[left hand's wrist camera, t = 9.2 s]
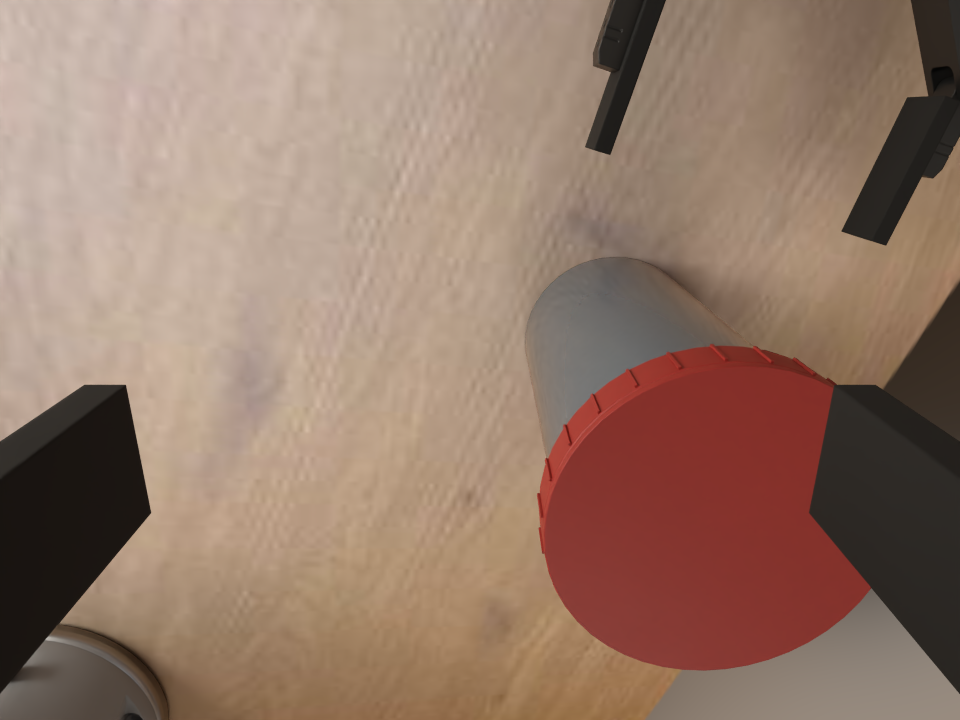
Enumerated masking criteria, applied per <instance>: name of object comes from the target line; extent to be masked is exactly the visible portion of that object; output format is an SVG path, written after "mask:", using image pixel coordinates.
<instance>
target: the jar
mask: <svg viewBox="0 0 960 720" xmlns="http://www.w3.org/2000/svg"><path fill="white" fill-rule="evenodd" d="M710 344H714V345H715V346H741V347H749V348H753V347H754V346H752V345H751V344H750V343H749V342H748V341H746V340H745V339H744V338H743V337H742V336H740V335H739V334H738V333H737V332H736V331H734V330H733V329H732V328H731V327H730V326H728V325H727V324H726V323H725V322H724V321H722V320H721V319H720V318H719V317H718V316H716V315H715V314H714V313H713V312H712V311H710V310H709V309H708V308H707V307H706V306H704V305H703V304H702V303H701V302H700V301H698V300H697V299H696V298H695V297H694V296H692V295H691V294H690V293H689V292H688V291H686V290H685V289H684V288H683V287H682V286H680V285H679V284H678V283H677V282H676V281H674V280H673V279H672V278H671V277H670V276H668V275H667V274H666V273H664V272H663V271H661V270H660V269H658V268H657V267H655V266H652V265H650V264H648V263H646V262H643V261H639V260H636V259H631V258H623V257H609V258H600V259H596V260H591V261H588V262H585V263H582V264H580V265H578V266H576V267H574V268H572V269H570V270H568V271H567V272H565V273H564V274H562V275H561V276H559V277H558V278H557V279H556V280H555V281H553V282H552V283H551V284H550V285H549V286H548V287H547V289H546V290H545V291H544V292H543V293H542V295H541V296H540V298H539V299H538V301H537V302H536V304H535V306H534V308H533V310H532V312H531V315H530V318H529V320H528V324H527V329H526V337H525V349H526V357H527V362H528V367H529V372H530V377H531V383H532V388H533V393H534V398H535V403H536V408H537V413H538V418H539V423H540V429H541V434H542V439H543V444H544V449H545V454H546V458H549V455H550V453H551V450H552V448H553V446H554V444H555V442H556V441H557V439H558V437H559V435H560V433H561V432H562V430H563V425H564V424H566V425H567V423H568V422H569V421H570V419H571V418H572V417H573V415H574V414H575V413H576V412H577V411H578V409H579V408H580V407H581V406H582V405H583V404H584V403H585V402H586V401H587V400H588V399H589V398H590V397H591V396H590V395H591V394H592V393H593V394H595V393H596V392H597V391H599V390H600V389H601V388H602V387H604V386H605V385H606V384H607V383H609V382H610V381H612V380H613V379H615V378H616V377H618V376H620V375H621V374H623V373H625V372H626V371H625V370H626V369H629V370H630V369H632V368H634V367H636V366H638V365H640V364H642V363H645V362H647V361H649V360H651V359H654V358H657V357H660V356H663V355H666V352H670V353H672V352H677V351H682V350H687V349H692V348H697V347H709V346H710Z"/></svg>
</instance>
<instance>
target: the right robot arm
mask: <svg viewBox="0 0 960 720" xmlns="http://www.w3.org/2000/svg"><path fill="white" fill-rule="evenodd" d="M665 1H666V0H611V1H610V4H609V7H608V10H607V13H606V16H605V19H604V22H603V25H602V28H601V31H600V34H599V37H598V40H597V43H596V46H595V49H594V52H593V66H595V67H598V68H601V69H604V70H606V71H609V72H611V74H610V77H609V79H608V82H607V85H606V88H605V91H604V94H603V97H602V100H601V103H600V106H599V108H598V111H597V114H596V117H595V120H594V123H593V126H592V129H591V132H590V134H589V137H588V140H587V143H586V146H585V147H586V148H589V149H592V150H595V151H598V152H602V153H605V154H609V155H610V154H611V151H612V149H613V146H614V143H615V140H616V137H617V135H618V132H619V129H620V126H621V124H622V121H623V118H624V115H625V112H626V110H627V107H628V104H629V101H630V99H631V96H632V93H633V90H634V87H635V85H636V82H637V79H638V76H639V73H640V71H641V68H642V65H643V62H644V60H645V57H646V54H647V51H648V48H649V46H650V43H651V40H652V37H653V34H654V32H655V29H656V26H657V23H658V21H659V18H660V15H661V12H662V9H663V7H664V4H665ZM911 3H912V8H913V14H914V19H915V25H916V30H917V36H918V41H919V47H920V52H921V58H922V63H923V69H924V74H925V80H926V85H927V91H928V96H927V97H907V99H906V101H905V103H904V105H903V107H902V109H901V111H900V113H899V115H898V117H897V119H896V121H895V123H894V126H893V128H892V130H891V132H890V134H889V136H888V138H887V140H886V142H885V144H884V146H883V148H882V150H881V152H880V154H879V156H878V158H877V160H876V162H875V164H874V166H873V168H872V170H871V172H870V174H869V176H868V178H867V180H866V182H865V184H864V186H863V189H862V191H861V193H860V195H859V197H858V199H857V201H856V203H855V205H854V207H853V209H852V211H851V213H850V215H849V217H848V219H847V221H846V223H845V225H844V227H843V229H842V232H845V233H848V234H851V235H854V236H857V237H860V238H863V239H867V240H870V241H873V242H876V243H879V244H883V245H887V243H888V241H889V239H890V237H891V235H892V233H893V231H894V229H895V227H896V225H897V223H898V222H899V220H900V218H901V216H902V214H903V212H904V210H905V208H906V206H907V204H908V202H909V200H910V198H911V196H912V195H913V193H914V191H915V189H916V187H917V185H918V183H919V181H920V179H921V177H926V178H934V177H935V176H936V175H937V174H938V173H939V172H940V171H941V170H942V169H943V167H944V165H945V163H946V162H947V160H948V158H949V157H948V156H949V155H950V154H951V152H952V150H953V147H954V146H955V144H956V143H957V141H958V139H959V137H960V0H911Z"/></svg>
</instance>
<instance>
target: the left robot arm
mask: <svg viewBox="0 0 960 720" xmlns="http://www.w3.org/2000/svg"><path fill="white" fill-rule="evenodd" d="M150 514H151V510H150V505H149V500H148V495H147V489H146V484H145V479H144V474H143V469H142V464H141V459H140V454H139V449H138V444H137V439H136V434H135V429H134V424H133V419H132V414H131V408H130V403H129V398H128V393H127V388H126V385H84V386H82V387H81V388H79V389H78V390H76V391H75V392H73V393H72V394H70V395H69V396H67V397H66V398H64V399H63V400H61V401H60V402H58V403H57V404H55V405H54V406H52V407H51V408H49V409H48V410H47V411H45V412H44V413H42V414H41V415H39V416H38V417H36V418H35V419H33V420H32V421H30V422H29V423H27V424H26V425H24V426H23V427H21V428H20V429H18V430H17V431H15V432H14V433H12V434H11V435H9V436H8V437H6V438H5V439H3V440H2V441H0V720H169V715H168V706H167V702H166V698H165V696H164V693H163V691H162V689H161V687H160V685H159V683H158V681H157V680H156V679H155V677H154V676H153V674H152V673H151V672H150V671H149V669H148V668H147V667H146V666H145V665H144V664H143V663H142V662H141V661H140V660H139V659H137V658H136V657H135V656H134V655H133V654H131V653H130V652H129V651H127V650H126V649H124V648H123V647H121V646H120V645H118V644H116V643H115V642H113V641H111V640H109V639H107V638H105V637H102V636H100V635H98V634H95V633H92V632H89V631H86V630H83V629H79V628H75V627H70V626H64V625H58V624H59V623H60V622H61V620H62V619H63V618H64V617H65V616H66V614H67V613H68V612H69V611H70V610H71V608H72V607H73V606H74V605H75V604H76V602H77V601H78V600H79V599H80V598H81V596H82V595H83V594H84V593H85V592H86V590H87V589H88V588H89V587H90V586H91V584H92V583H93V582H94V581H95V580H96V578H97V577H98V576H99V575H100V574H101V572H102V571H103V570H104V569H105V568H106V566H107V565H108V564H109V563H110V562H111V560H112V559H113V558H114V557H115V556H116V554H117V553H118V552H119V551H120V550H121V548H122V547H123V546H124V545H125V544H126V542H127V541H128V540H129V539H130V538H131V536H132V535H133V534H134V533H135V532H136V530H137V529H138V528H139V527H140V526H141V524H142V523H143V522H144V521H145V520H146V518H147V517H148V516H149V515H150ZM809 514H810V515H811V516H812V517H813V518H814V520H815V521H816V522H817V523H818V524H819V526H820V527H821V528H822V529H823V530H824V532H825V533H826V534H827V535H828V536H829V538H830V539H831V540H832V541H833V542H834V544H835V545H836V546H837V547H838V548H839V550H840V551H841V552H842V553H843V554H844V556H845V557H846V558H847V559H848V560H849V562H850V563H851V564H852V565H853V566H854V568H855V569H856V570H857V571H858V572H859V574H860V575H861V576H862V577H863V578H864V580H865V581H866V582H867V583H868V584H869V586H870V587H871V588H872V589H873V590H874V592H875V593H876V594H877V595H878V596H879V598H880V599H881V600H882V601H883V602H884V604H885V605H886V606H887V607H888V608H889V610H890V611H891V612H892V613H893V614H894V616H895V617H896V618H897V619H898V620H899V622H900V623H901V624H902V625H903V626H904V628H905V629H906V630H907V631H908V632H909V634H910V635H911V636H912V637H913V638H914V640H915V641H916V642H917V643H918V644H919V646H920V647H921V648H922V649H923V650H924V652H925V653H926V654H927V655H928V656H929V658H930V659H931V660H932V661H933V662H934V664H935V665H936V666H937V667H938V668H939V670H940V671H941V672H942V673H943V674H944V676H945V677H946V678H947V679H948V680H949V682H950V683H951V684H952V685H953V686H954V688H955V689H956V690H957V691H958V692H959V694H960V441H958V440H957V439H955V438H953V437H952V436H951V435H949V434H948V433H946V432H945V431H943V430H942V429H940V428H939V427H937V426H936V425H934V424H933V423H931V422H930V421H928V420H927V419H925V418H924V417H922V416H921V415H919V414H918V413H916V412H915V411H914V410H912V409H911V408H909V407H908V406H906V405H904V404H903V403H902V402H900V401H899V400H897V399H896V398H894V397H893V396H891V395H890V394H888V393H887V392H885V391H884V390H882V389H881V388H879V387H878V386H876V385H834V388H833V393H832V398H831V403H830V408H829V414H828V419H827V424H826V429H825V434H824V439H823V444H822V449H821V454H820V459H819V464H818V469H817V474H816V479H815V484H814V489H813V495H812V500H811V505H810V510H809Z"/></svg>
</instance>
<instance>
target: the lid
mask: <svg viewBox="0 0 960 720" xmlns="http://www.w3.org/2000/svg"><path fill="white" fill-rule="evenodd" d="M625 371H626V372H625V373H623V374H621V375H620V376H618V377H616V378H615V379H613V380H612V381H610V382H609V383H607V384H606V385H605V386H604V387H602V388H601V389H600V390H599V391H597V392H596V393H595V394H593V393H592V394H591V395H590V396H591V397H590V398H589V399H588V400H587V401H586V402H585V403H584V404H583V405H582V406H581V407H580V408H579V409H578V411H577V412H576V413H575V414H574V415H573V417H572V418H571V419H570V421H569V422H568V423H567V425H566V424H564V425H563V430H562V432H561V433H560V435H559V437H558V439H557V441H556V442H555V444H554V446H553V448H552V450H551V453H550V455H549V458H546V459H545V463H546V465H545V468H544V473H543V477H542V481H541V485H540V493H537V498H538V505H539V515H540V526H541V527H539V534H540V541H541V548H542V554H544V553H545V558H546V562H547V567H548V571H549V574H550V577H551V579H552V582H553V585H554V587H555V590H556V592H557V593H558V595H559V597H560V598H561V600H562V602H563V604H564V605H565V607H566V608H567V609H568V611H569V612H570V613H571V614H572V615H573V617H574V618H575V619H576V620H577V622H578V623H580V624H581V625H582V626H583V627H584V628H585V629H586V630H587V631H588V632H589V633H590V634H591V635H593V636H594V637H596V638H597V639H599V640H600V641H601V642H603V643H604V644H606V645H607V646H609V647H611V648H613V649H615V650H616V651H618V652H620V653H622V654H624V655H627V656H629V657H632V658H634V659H637V660H640V661H642V662H646V663H650V664H654V665H658V666H662V667H668V668H675V669H682V670H718V669H729V668H735V667H741V666H746V665H751V664H754V663H758V662H762V661H766V660H769V659H772V658H774V657H777V656H780V655H782V654H785V653H787V652H790V651H792V650H794V649H796V648H798V647H800V646H802V645H804V644H806V643H808V642H810V641H811V640H813V639H814V638H816V637H818V636H819V635H821V634H823V633H824V632H826V631H827V630H829V629H830V628H831V627H832V626H834V625H835V624H836V623H837V622H839V621H840V620H841V619H843V618H844V617H845V616H846V615H847V614H848V613H849V612H850V611H851V610H852V609H853V608H854V607H855V606H856V605H857V604H858V603H859V602H860V601H861V600H862V599H863V598H864V596H865V595H866V594H867V593H868V591H869V590H870V589H871V587H870V586H869V584H868V583H867V582H866V581H865V580H864V578H863V577H862V576H861V575H860V574H859V572H858V571H857V570H856V569H855V568H854V566H853V565H852V564H851V563H850V562H849V560H848V559H847V558H846V557H845V556H844V554H843V553H842V552H841V551H840V550H839V548H838V547H837V546H836V545H835V544H834V542H833V541H832V540H831V539H830V538H829V536H828V535H827V534H826V533H825V532H824V530H823V529H822V528H821V527H820V526H819V524H818V523H817V522H816V521H815V520H814V518H813V517H812V516H811V515H810V514H809V510H810V505H811V500H812V495H813V489H814V484H815V479H816V474H817V469H818V464H819V459H820V454H821V449H822V444H823V439H824V434H825V429H826V424H827V419H828V414H829V408H830V403H831V398H832V393H833V388H834V385H837V384H836V383H834V382H833V381H832V380H830V379H829V378H827V379H825V378H823V377H822V376H820V375H819V374H817V373H816V372H814V371H813V370H811V369H810V368H808V367H807V366H806V365H804V364H803V363H802V362H800V361H799V360H798V359H797V358H793V360H792V359H790V358H788V357H785V356H782V355H779V354H776V353H773V352H769V351H766V350H761V349H759V348H758V347H757V346H754V347H753V348H749V347H741V346H715V345H714V344H710V346H709V347H697V348H692V349H687V350H682V351H677V352H672V353H670V352H666V355H663V356H660V357H657V358H654V359H651V360H649V361H647V362H645V363H642V364H640V365H638V366H636V367H634V368H632V369H630V370H629V369H626V370H625Z"/></svg>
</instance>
